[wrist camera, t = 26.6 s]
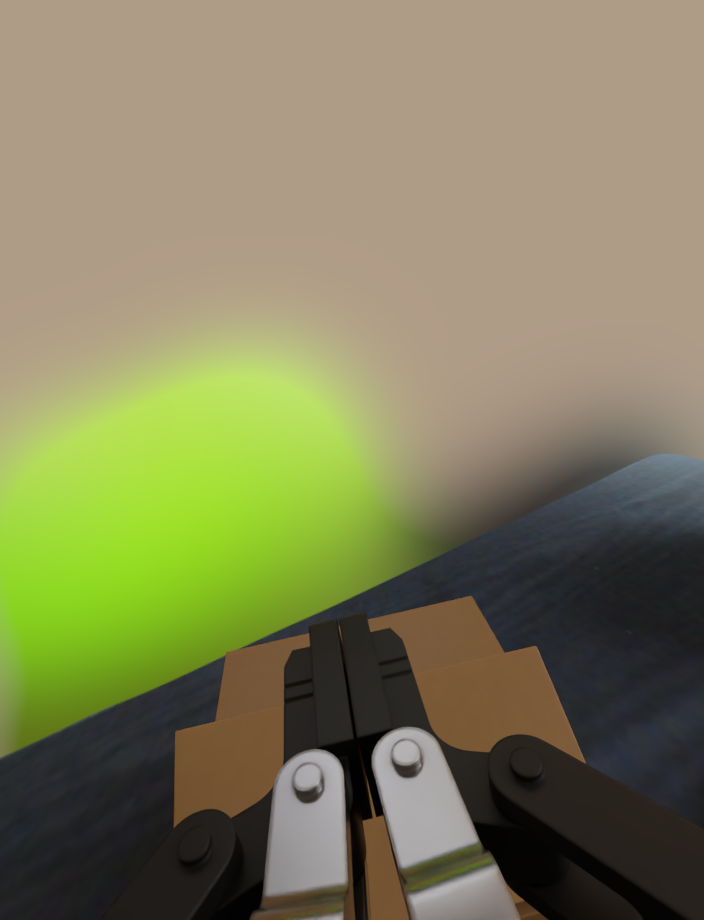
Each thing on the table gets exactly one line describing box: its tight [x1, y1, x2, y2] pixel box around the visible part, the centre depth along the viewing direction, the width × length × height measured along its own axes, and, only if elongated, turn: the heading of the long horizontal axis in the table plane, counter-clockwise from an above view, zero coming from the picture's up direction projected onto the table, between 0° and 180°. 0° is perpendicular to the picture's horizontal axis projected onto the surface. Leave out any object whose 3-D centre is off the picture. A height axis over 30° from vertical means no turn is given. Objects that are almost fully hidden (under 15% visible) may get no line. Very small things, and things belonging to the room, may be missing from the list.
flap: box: [174, 646, 586, 920], centre depth 17 cm, size 14×7×1 cm, turn 97°
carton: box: [215, 596, 548, 920], centre depth 23 cm, size 14×14×11 cm
